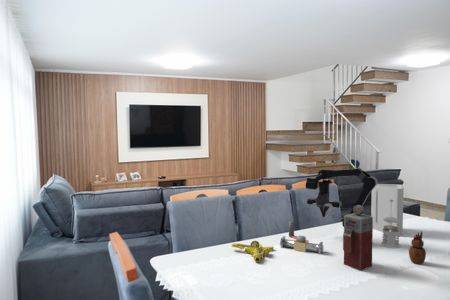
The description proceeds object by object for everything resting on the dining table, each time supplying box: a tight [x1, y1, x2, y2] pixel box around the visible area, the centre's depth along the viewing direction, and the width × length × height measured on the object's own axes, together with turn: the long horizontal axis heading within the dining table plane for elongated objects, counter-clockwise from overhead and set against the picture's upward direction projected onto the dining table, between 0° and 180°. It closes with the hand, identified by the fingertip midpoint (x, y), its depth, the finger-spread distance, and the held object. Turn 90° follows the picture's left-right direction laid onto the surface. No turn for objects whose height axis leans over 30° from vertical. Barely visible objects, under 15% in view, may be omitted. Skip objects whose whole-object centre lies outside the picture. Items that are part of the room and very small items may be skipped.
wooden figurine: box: [408, 230, 427, 265], centre depth 155 cm, size 7×6×15 cm
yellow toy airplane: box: [231, 240, 275, 263], centre depth 167 cm, size 22×6×20 cm
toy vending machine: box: [342, 205, 374, 271], centre depth 152 cm, size 9×11×28 cm
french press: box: [380, 199, 401, 249], centre depth 180 cm, size 10×12×25 cm
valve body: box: [279, 235, 324, 255], centre depth 174 cm, size 22×6×5 cm, turn 61°
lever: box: [288, 220, 307, 242], centre depth 177 cm, size 11×4×8 cm, turn 36°
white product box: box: [370, 183, 404, 237], centre depth 205 cm, size 19×15×28 cm
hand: (323, 217), depth 192 cm, fingers closed
